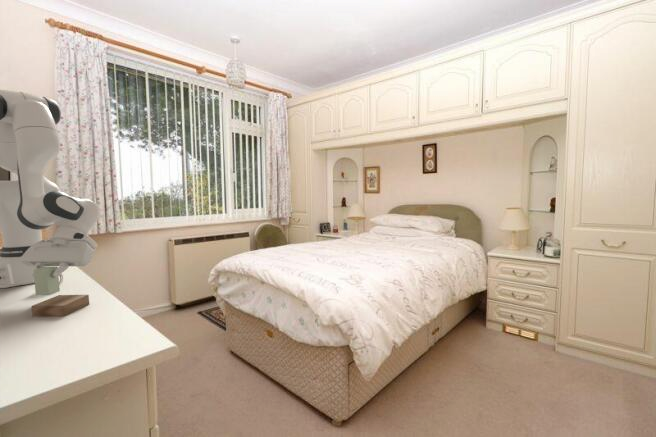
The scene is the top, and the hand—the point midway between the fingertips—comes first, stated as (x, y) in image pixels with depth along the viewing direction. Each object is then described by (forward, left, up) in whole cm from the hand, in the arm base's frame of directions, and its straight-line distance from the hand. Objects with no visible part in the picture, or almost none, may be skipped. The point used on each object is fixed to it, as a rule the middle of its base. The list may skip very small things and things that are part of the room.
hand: (44, 276), depth 98 cm
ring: (-10, +12, -8) cm, 18 cm away
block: (0, +1, -5) cm, 5 cm away
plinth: (+10, -7, -8) cm, 15 cm away
